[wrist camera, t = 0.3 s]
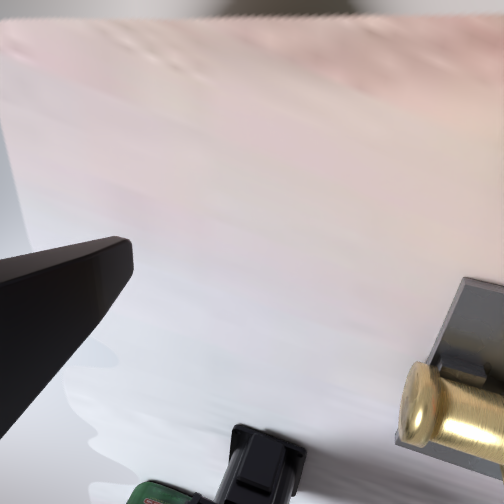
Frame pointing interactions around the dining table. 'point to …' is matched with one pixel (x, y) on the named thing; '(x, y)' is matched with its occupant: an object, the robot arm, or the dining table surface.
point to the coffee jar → (156, 495)
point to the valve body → (461, 386)
